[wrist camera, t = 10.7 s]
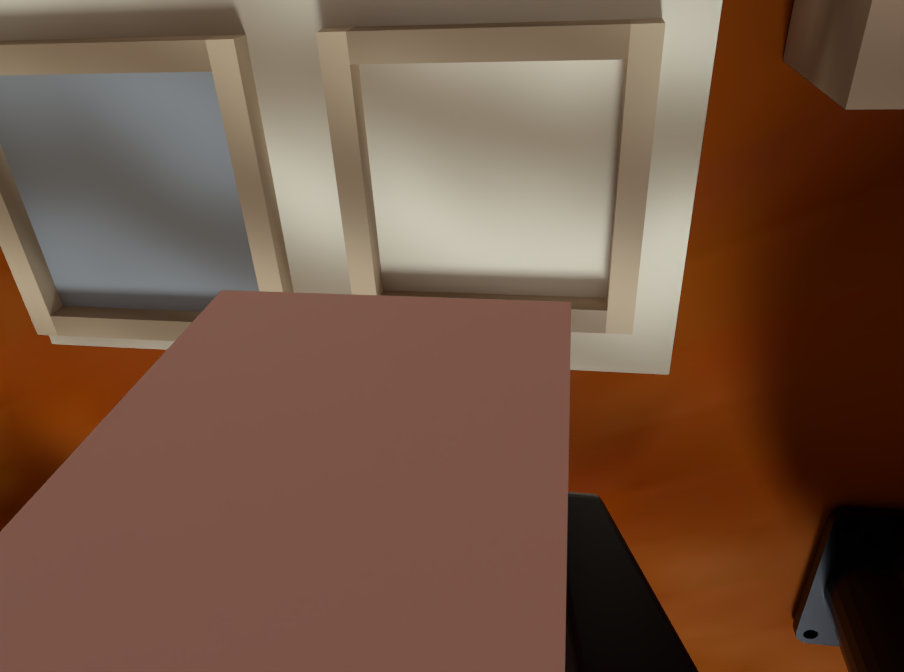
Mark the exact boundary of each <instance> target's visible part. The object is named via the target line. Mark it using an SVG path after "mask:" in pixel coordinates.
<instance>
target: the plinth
mask: <svg viewBox="0 0 904 672" xmlns="http://www.w3.org/2000/svg"><path fill="white" fill-rule="evenodd" d="M783 62H785V63H786V64H787V65H789V66H790V67H791V68H792V69H794V70H795V71H796V72H798V73H799V74H800V75H801V76H803V77H804V78H805V79H807V80H808V81H809V82H810V83H812V84H813V85H814V86H816V87H817V88H818V89H819V90H821V91H822V92H823V93H825V94H826V95H827V96H828V97H830V98H831V99H832V100H834V101H835V102H836V103H837V104H839V105H840V106H841V107H843V108H844V109H845V110H868V109H904V0H794V5H793V10H792V15H791V20H790V26H789V31H788V36H787V41H786V46H785V52H784V57H783Z"/></svg>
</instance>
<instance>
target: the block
mask: <svg viewBox="0 0 904 672" xmlns="http://www.w3.org/2000/svg"><path fill="white" fill-rule="evenodd" d="M570 346H571V302H561V301H532V300H502V299H472V298H443V297H413V296H383V295H354V294H324V293H294V292H264V291H235V290H221V291H220V292H219V294H218V295H217V296H216V297H215V298H214V299H213V300H212V301H211V302H210V303H209V304H208V306H207V307H206V308H205V309H204V310H203V311H202V312H201V313H200V314H199V315H198V316H197V318H196V319H195V320H194V321H193V322H192V323H191V324H190V325H189V326H188V327H187V328H186V330H185V331H184V332H183V333H182V334H181V335H180V336H179V337H178V338H177V339H176V340H175V342H174V343H173V344H172V345H171V346H170V347H169V348H168V349H167V350H166V351H165V352H164V354H163V355H162V356H161V357H160V358H159V359H158V360H157V361H156V362H155V363H154V364H153V366H152V367H151V368H150V369H149V370H148V371H147V372H146V373H145V374H144V375H143V376H142V378H141V379H140V380H139V381H138V382H137V383H136V384H135V385H134V386H133V387H132V389H131V390H130V391H129V392H128V393H127V394H126V395H125V396H124V397H123V398H122V399H121V401H120V402H119V403H118V404H117V405H116V406H115V407H114V408H113V409H112V410H111V411H110V413H109V414H108V415H107V416H106V417H105V418H104V419H103V420H102V421H101V422H100V423H99V425H98V426H97V427H96V428H95V429H94V430H93V431H92V432H91V433H90V434H89V435H88V437H87V438H86V439H85V440H84V441H83V442H82V443H81V444H80V445H79V446H78V447H77V449H76V450H75V451H74V452H73V453H72V454H71V455H70V456H69V457H68V458H67V459H66V461H65V462H64V463H63V464H62V465H61V466H60V467H59V468H58V469H57V470H56V471H55V473H54V474H53V475H52V476H51V477H50V478H49V479H48V480H47V481H46V482H45V483H44V485H43V486H42V487H41V488H40V489H39V490H38V491H37V492H36V493H35V494H34V495H33V497H32V498H31V499H30V500H29V501H28V502H27V503H26V504H25V505H24V506H23V507H22V509H21V510H20V511H19V512H18V513H17V514H16V515H15V516H14V517H13V518H12V519H11V521H10V522H9V523H8V524H7V525H6V526H5V527H4V528H3V529H2V530H1V531H0V672H565V637H566V579H567V521H568V462H569V404H570Z"/></svg>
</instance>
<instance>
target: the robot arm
mask: <svg viewBox="0 0 904 672" xmlns="http://www.w3.org/2000/svg"><path fill="white" fill-rule="evenodd" d="M850 520H852V521H850ZM846 521H850V522H846ZM843 522H844V523H843ZM793 628H794V632H795V635H796V637H797V639H798V640H800V641H802V642H805V643H812V644H821V645H831V646H840V649H841V651H842V654H843V657H844V660H845V663H846V666H847V669H848V671H849V672H904V510H901V509H887V508H874V507H861V506H841V507H838V508H836V509H834V510H833V511H832V512H831V513H830V515H829V517H828V520H827V523H826V526H825V529H824V532H823V535H822V538H821V541H820V544H819V547H818V550H817V553H816V556H815V559H814V562H813V565H812V568H811V571H810V574H809V577H808V580H807V583H806V586H805V589H804V592H803V595H802V598H801V601H800V604H799V607H798V610H797V613H796V616H795V619H794V622H793ZM565 672H698V670H697V668H696V666H695V665H694V663H693V661H692V659H691V658H690V656H689V654H688V652H687V650H686V649H685V647H684V645H683V643H682V642H681V640H680V638H679V636H678V634H677V633H676V631H675V629H674V627H673V626H672V624H671V622H670V620H669V618H668V617H667V615H666V613H665V611H664V609H663V608H662V606H661V604H660V602H659V601H658V599H657V597H656V595H655V593H654V592H653V590H652V588H651V586H650V585H649V583H648V581H647V579H646V577H645V576H644V574H643V572H642V570H641V569H640V567H639V565H638V563H637V561H636V560H635V558H634V556H633V554H632V553H631V551H630V549H629V547H628V545H627V544H626V542H625V540H624V538H623V537H622V535H621V533H620V531H619V529H618V528H617V526H616V524H615V522H614V521H613V519H612V517H611V515H610V513H609V512H608V510H607V508H606V506H605V504H604V503H603V501H602V500H601V498H600V497H599V496H597V495H595V494H587V493H574V492H568V521H567V579H566V637H565Z"/></svg>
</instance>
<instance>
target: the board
mask: <svg viewBox="0 0 904 672" xmlns="http://www.w3.org/2000/svg"><path fill="white" fill-rule="evenodd" d="M722 1H723V0H0V246H1V248H2V251H3V253H4V255H5V258H6V260H7V263H8V265H9V267H10V270H11V272H12V274H13V277H14V279H15V282H16V284H17V286H18V289H19V291H20V294H21V296H22V298H23V301H24V303H25V305H26V308H27V310H28V313H29V315H30V317H31V320H32V322H33V324H34V327H35V329H36V332H37V334H38V335H49V337H50V339H51V342H52V344H64V345H84V346H104V347H124V348H145V349H165V350H167V349H168V348H169V347H170V346H171V345H172V344H173V343H174V342H175V340H176V339H177V338H178V337H179V336H180V335H181V334H182V333H183V332H184V331H185V330H186V328H187V327H188V326H189V325H190V324H191V323H192V322H193V321H194V320H195V319H196V318H197V316H198V315H199V314H200V313H201V312H202V311H203V310H204V309H205V308H206V307H207V306H208V304H209V303H210V302H211V301H212V300H213V299H214V298H215V297H216V296H217V295H218V294H219V292H220V291H221V290H235V291H264V292H294V293H324V294H354V295H383V296H413V297H443V298H472V299H502V300H532V301H561V302H571V346H570V370H587V371H607V372H627V373H647V374H667V375H669V370H670V363H671V356H672V349H673V342H674V335H675V328H676V321H677V314H678V307H679V300H680V293H681V286H682V279H683V272H684V266H685V259H686V252H687V245H688V238H689V231H690V224H691V217H692V210H693V203H694V196H695V189H696V182H697V175H698V168H699V161H700V154H701V147H702V140H703V133H704V126H705V119H706V112H707V106H708V99H709V92H710V85H711V78H712V71H713V64H714V57H715V50H716V43H717V36H718V29H719V22H720V15H721V8H722Z"/></svg>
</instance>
